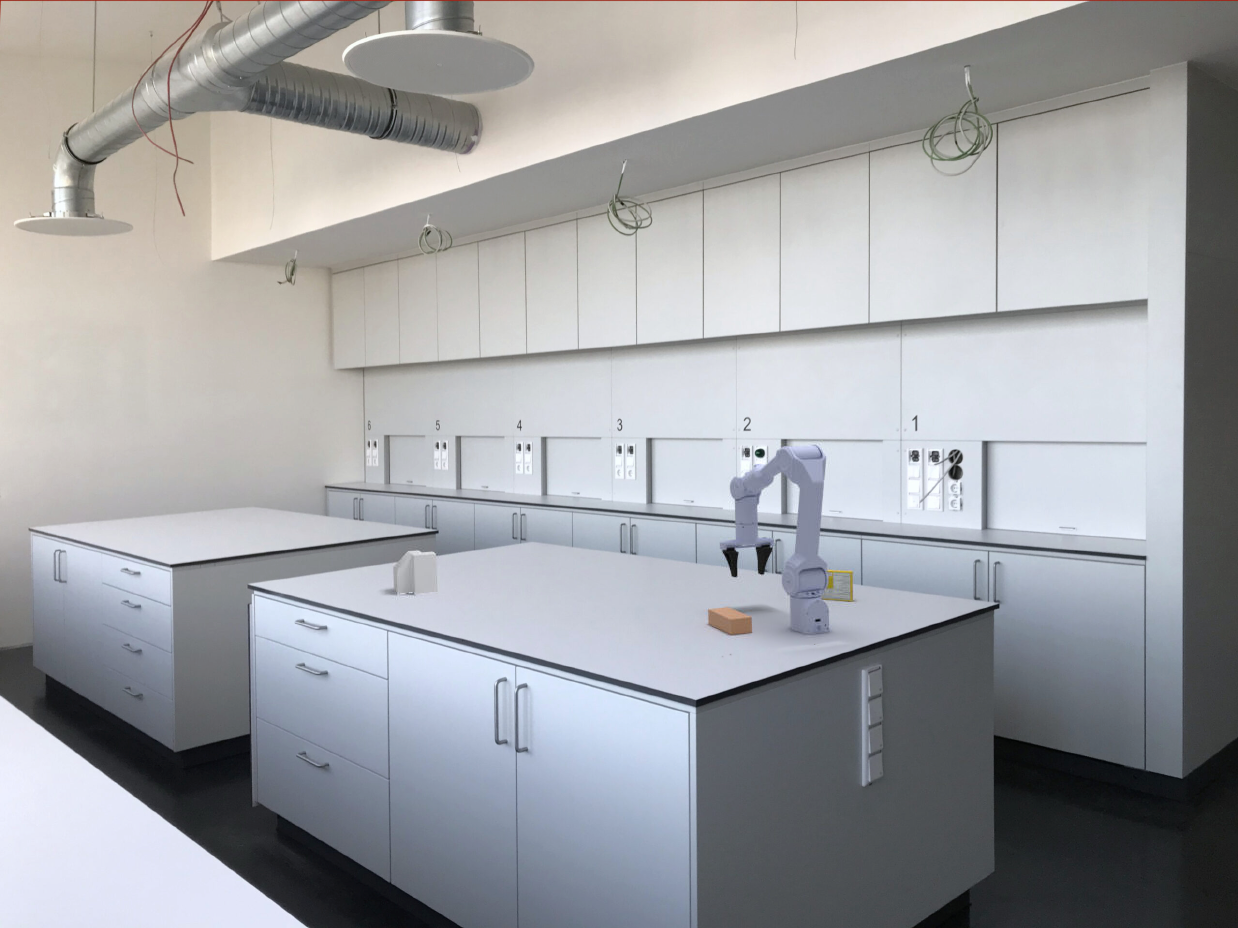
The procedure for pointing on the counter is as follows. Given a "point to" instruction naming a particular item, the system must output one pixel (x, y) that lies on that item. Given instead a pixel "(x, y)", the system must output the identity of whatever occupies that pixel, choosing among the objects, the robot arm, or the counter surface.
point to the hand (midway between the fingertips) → (747, 575)
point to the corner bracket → (416, 573)
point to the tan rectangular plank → (730, 620)
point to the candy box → (839, 586)
